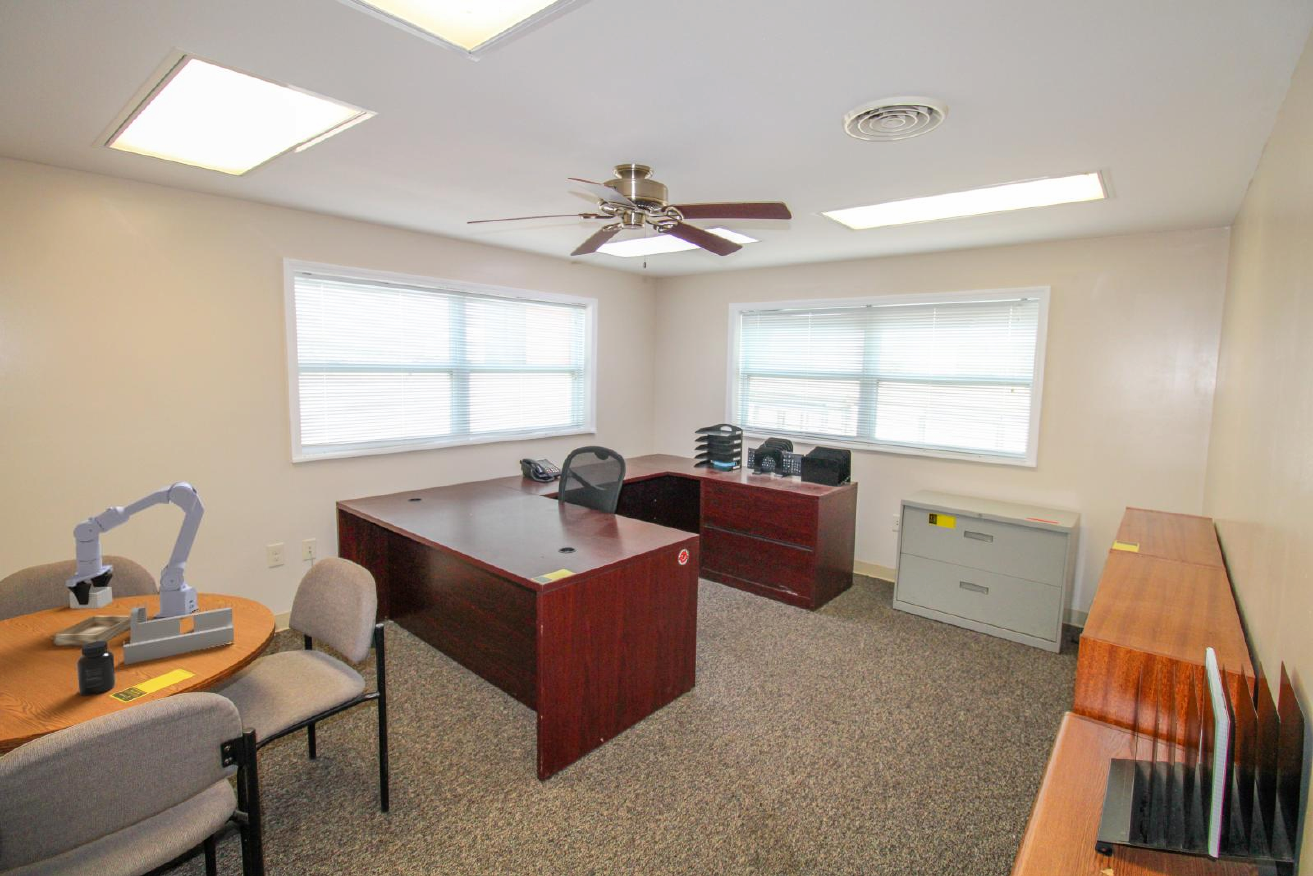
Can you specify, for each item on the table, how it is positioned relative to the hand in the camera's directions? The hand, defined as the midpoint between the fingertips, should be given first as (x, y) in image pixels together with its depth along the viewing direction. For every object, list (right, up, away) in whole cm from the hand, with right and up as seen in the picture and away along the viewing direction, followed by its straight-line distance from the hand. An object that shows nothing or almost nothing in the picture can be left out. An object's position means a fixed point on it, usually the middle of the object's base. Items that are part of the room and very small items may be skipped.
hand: (91, 600), depth 187 cm
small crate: (0, -2, 0) cm, 2 cm away
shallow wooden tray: (+6, -9, -5) cm, 12 cm away
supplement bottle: (+34, -14, -34) cm, 50 cm away
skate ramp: (+33, -11, -5) cm, 35 cm away
